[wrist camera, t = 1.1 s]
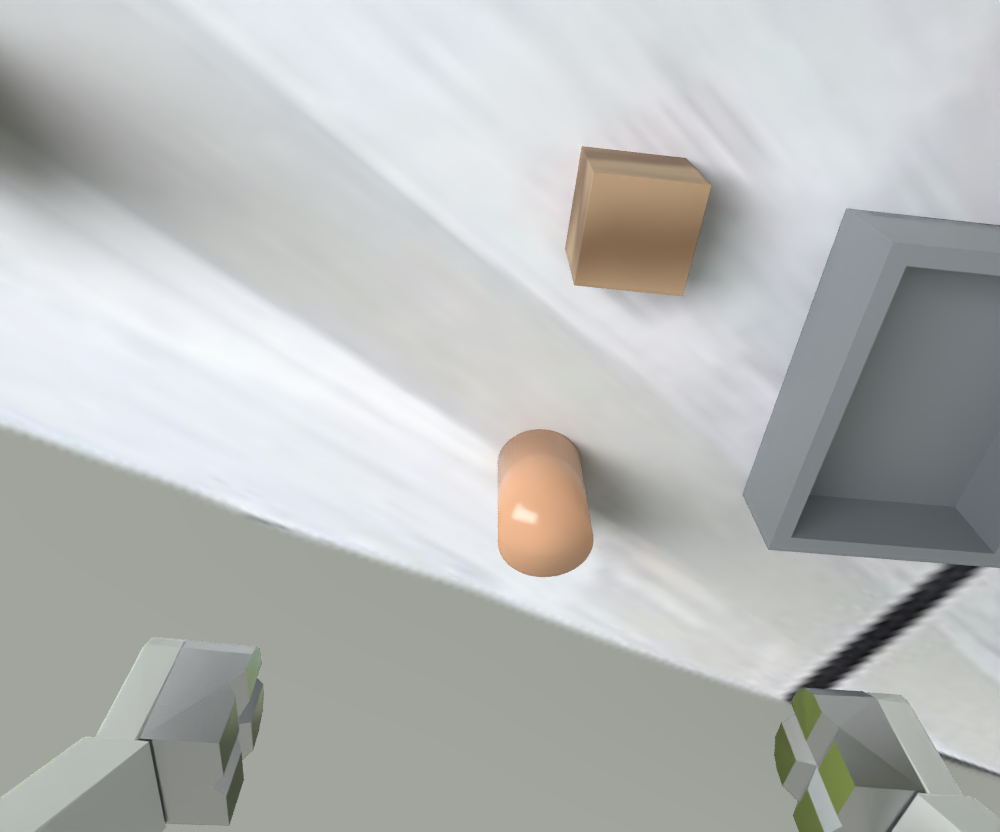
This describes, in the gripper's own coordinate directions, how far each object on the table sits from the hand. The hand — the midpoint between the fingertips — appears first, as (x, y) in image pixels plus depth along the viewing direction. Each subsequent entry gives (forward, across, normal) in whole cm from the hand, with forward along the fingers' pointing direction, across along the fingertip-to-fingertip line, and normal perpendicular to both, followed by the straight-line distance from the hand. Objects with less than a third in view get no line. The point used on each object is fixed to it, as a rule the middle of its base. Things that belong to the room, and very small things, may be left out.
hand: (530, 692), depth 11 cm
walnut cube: (+29, -6, 0) cm, 29 cm away
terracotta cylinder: (+29, -4, +16) cm, 33 cm away
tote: (+29, -24, +7) cm, 38 cm away
